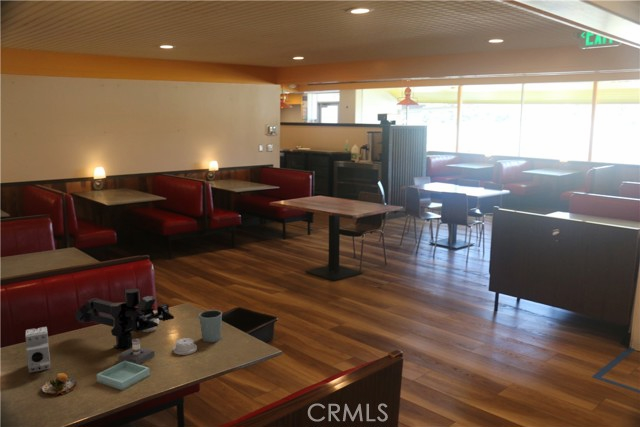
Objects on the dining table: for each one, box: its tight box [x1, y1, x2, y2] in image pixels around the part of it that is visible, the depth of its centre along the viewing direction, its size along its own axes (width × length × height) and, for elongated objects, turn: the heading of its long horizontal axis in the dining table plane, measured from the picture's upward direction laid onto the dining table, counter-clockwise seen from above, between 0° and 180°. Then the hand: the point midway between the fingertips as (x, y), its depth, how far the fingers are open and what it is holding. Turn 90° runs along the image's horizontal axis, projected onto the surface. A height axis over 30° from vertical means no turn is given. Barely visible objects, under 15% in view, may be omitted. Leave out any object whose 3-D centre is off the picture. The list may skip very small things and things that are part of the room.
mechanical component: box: [172, 337, 198, 356], centre depth 232 cm, size 10×4×10 cm
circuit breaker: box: [25, 326, 51, 373], centre depth 212 cm, size 8×14×15 cm, turn 27°
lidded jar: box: [142, 309, 160, 333], centre depth 254 cm, size 11×11×9 cm
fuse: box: [131, 338, 141, 356], centre depth 224 cm, size 3×3×8 cm
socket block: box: [118, 346, 156, 365], centre depth 224 cm, size 10×10×2 cm
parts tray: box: [96, 361, 151, 391], centre depth 207 cm, size 14×14×3 cm
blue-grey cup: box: [198, 309, 223, 343], centre depth 244 cm, size 10×10×12 cm
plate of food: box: [40, 369, 77, 397], centre depth 199 cm, size 12×12×8 cm
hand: (165, 321), depth 221 cm, fingers open, 9 cm apart
